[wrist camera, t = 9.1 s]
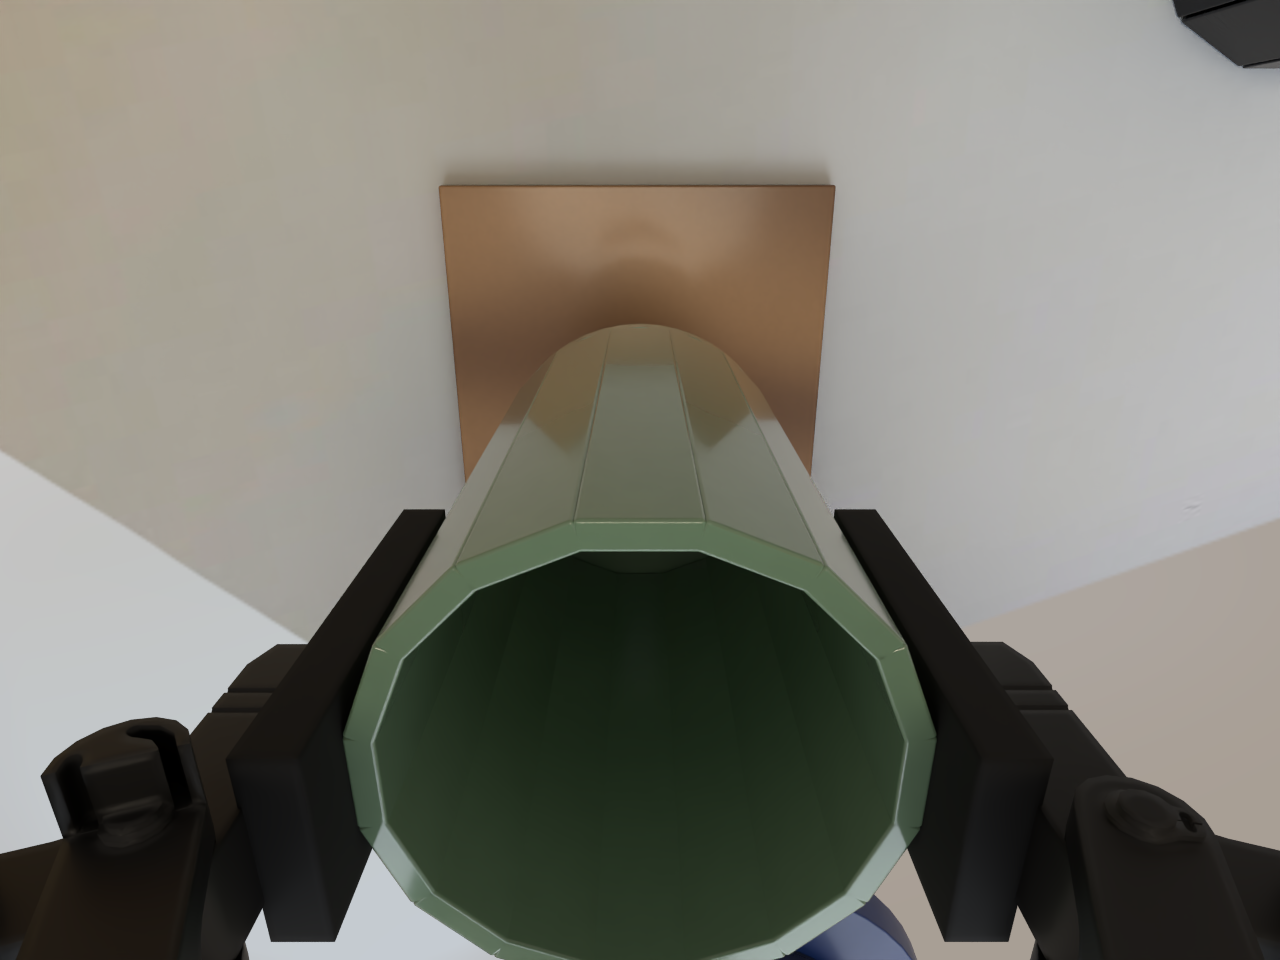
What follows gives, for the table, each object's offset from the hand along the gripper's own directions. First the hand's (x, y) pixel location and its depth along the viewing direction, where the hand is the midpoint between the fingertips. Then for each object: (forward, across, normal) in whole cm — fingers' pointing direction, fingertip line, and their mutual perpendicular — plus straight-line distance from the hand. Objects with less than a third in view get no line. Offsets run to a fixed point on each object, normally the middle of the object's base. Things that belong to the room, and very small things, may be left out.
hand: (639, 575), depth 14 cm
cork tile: (+16, 0, 0) cm, 16 cm away
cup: (+7, 0, 0) cm, 7 cm away
